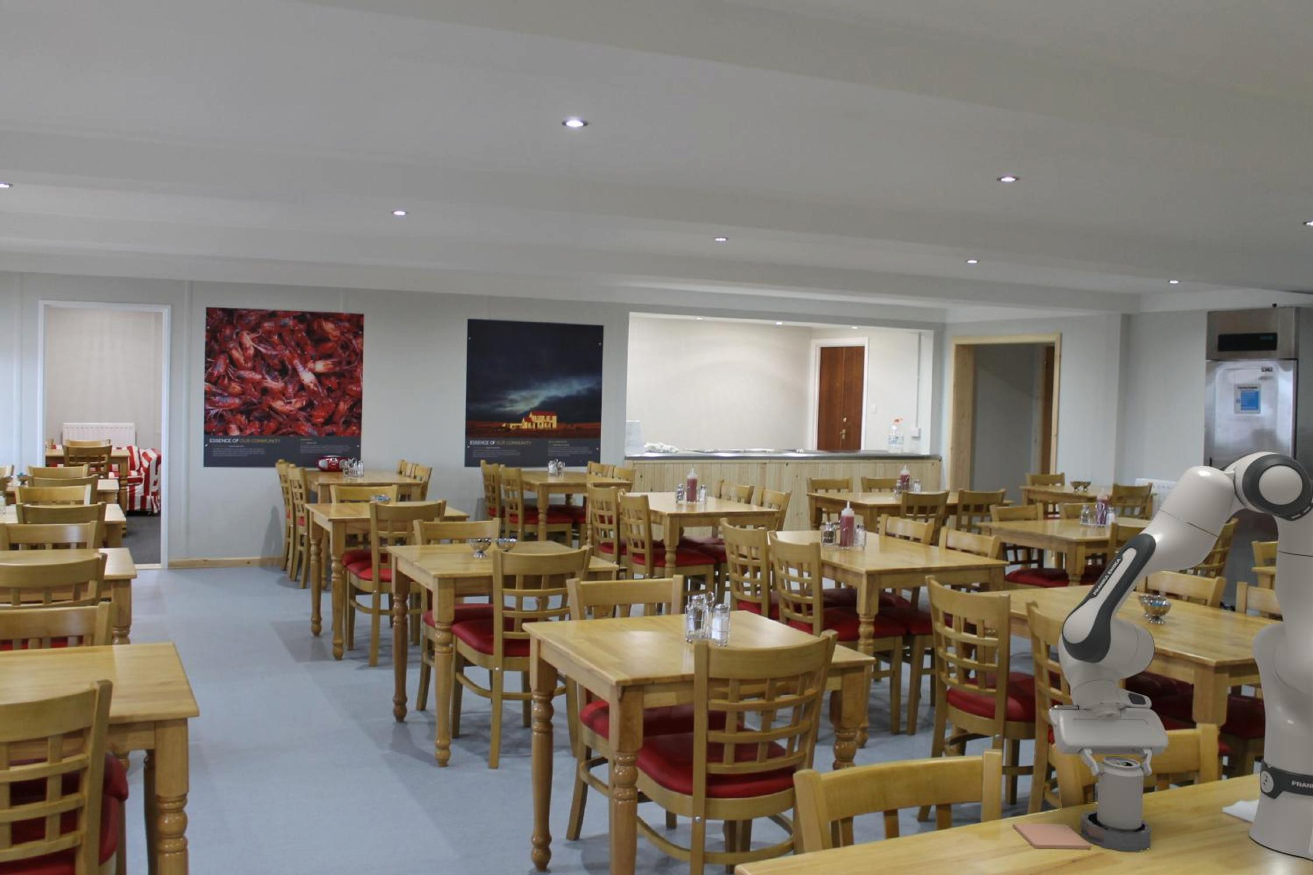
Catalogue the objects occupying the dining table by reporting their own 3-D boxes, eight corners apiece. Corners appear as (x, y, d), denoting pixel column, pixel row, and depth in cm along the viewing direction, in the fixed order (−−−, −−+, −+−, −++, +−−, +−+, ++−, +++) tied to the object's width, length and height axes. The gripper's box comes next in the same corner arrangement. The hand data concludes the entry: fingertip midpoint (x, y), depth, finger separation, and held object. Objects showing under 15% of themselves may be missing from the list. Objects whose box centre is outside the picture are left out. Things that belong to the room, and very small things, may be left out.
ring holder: (1130, 826, 210) (1131, 810, 210) (1162, 851, 198) (1163, 834, 198) (1070, 825, 209) (1071, 809, 209) (1099, 850, 197) (1100, 833, 197)
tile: (1065, 827, 208) (1065, 824, 208) (1090, 848, 198) (1090, 845, 198) (1012, 826, 207) (1013, 823, 207) (1035, 848, 197) (1035, 844, 197)
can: (1145, 835, 199) (1148, 768, 199) (1100, 831, 200) (1103, 764, 200) (1136, 820, 206) (1139, 755, 206) (1093, 816, 208) (1095, 752, 207)
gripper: (1051, 696, 209) (1072, 765, 199) (1157, 697, 210) (1184, 766, 201) (1040, 713, 213) (1060, 782, 204) (1144, 714, 215) (1169, 782, 205)
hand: (1122, 774), depth 202 cm, fingers closed on can, 7 cm apart
